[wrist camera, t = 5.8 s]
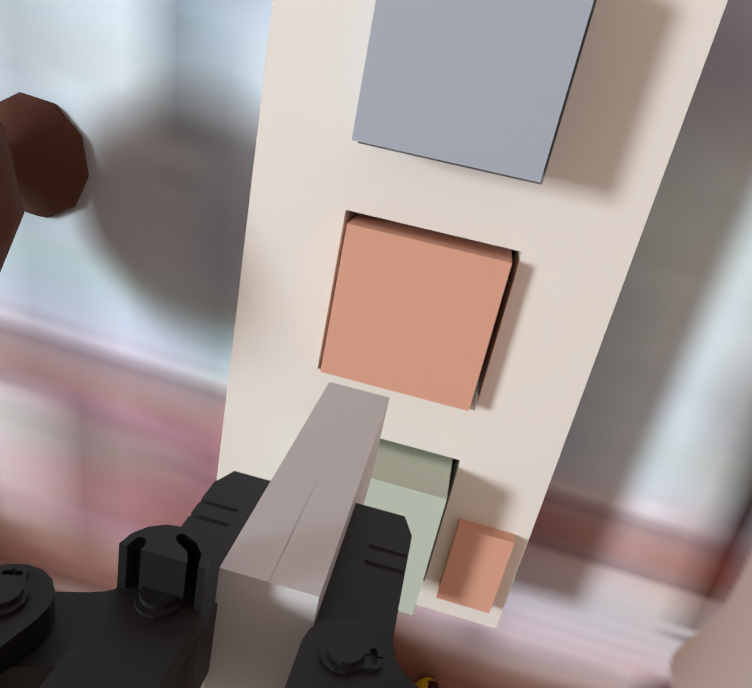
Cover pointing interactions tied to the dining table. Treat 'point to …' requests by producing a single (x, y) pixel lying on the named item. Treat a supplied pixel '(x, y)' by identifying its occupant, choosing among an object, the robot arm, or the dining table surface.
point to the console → (467, 220)
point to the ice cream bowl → (36, 163)
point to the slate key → (470, 79)
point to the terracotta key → (414, 309)
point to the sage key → (411, 503)
